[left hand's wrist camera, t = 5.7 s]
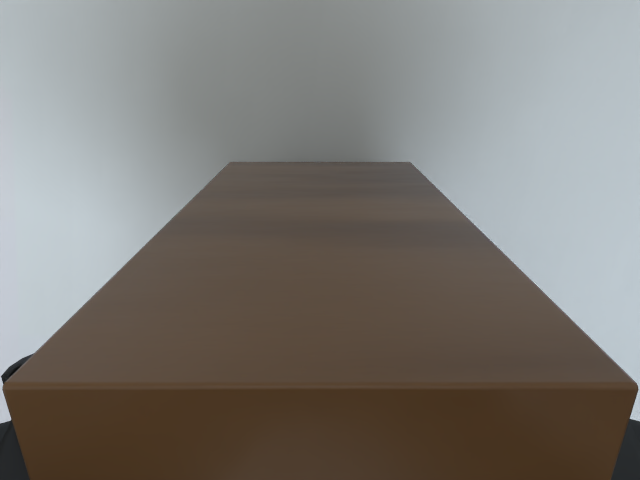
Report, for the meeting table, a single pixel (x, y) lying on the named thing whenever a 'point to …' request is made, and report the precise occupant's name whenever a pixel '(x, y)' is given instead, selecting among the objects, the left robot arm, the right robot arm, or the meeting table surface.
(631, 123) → the meeting table surface
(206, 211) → the box
